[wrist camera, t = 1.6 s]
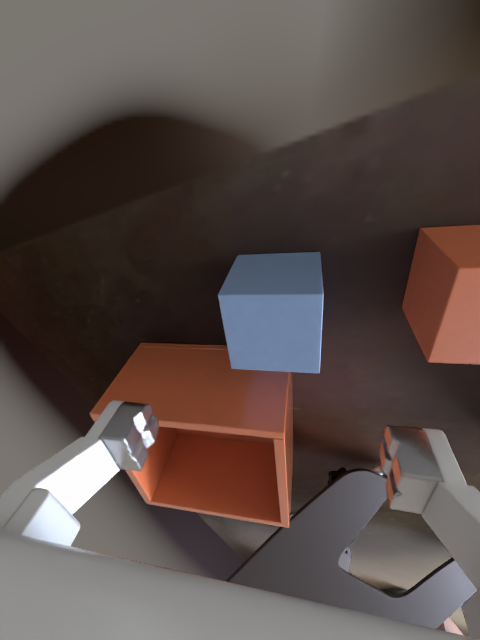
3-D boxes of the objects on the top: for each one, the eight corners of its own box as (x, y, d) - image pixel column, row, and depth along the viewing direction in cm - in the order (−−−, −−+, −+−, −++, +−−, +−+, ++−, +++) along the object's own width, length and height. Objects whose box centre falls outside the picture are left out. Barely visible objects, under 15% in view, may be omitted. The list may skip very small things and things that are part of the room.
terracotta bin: (140, 342, 22) (88, 413, 17) (291, 347, 19) (284, 432, 14) (176, 431, 28) (146, 503, 23) (293, 444, 26) (289, 528, 20)
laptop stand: (458, 497, 35) (541, 582, 27) (331, 615, 39) (367, 726, 30) (326, 398, 30) (375, 464, 21) (191, 545, 33) (184, 656, 24)
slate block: (237, 254, 16) (217, 294, 13) (320, 251, 15) (323, 294, 12) (246, 320, 19) (231, 369, 15) (317, 321, 18) (319, 373, 14)
